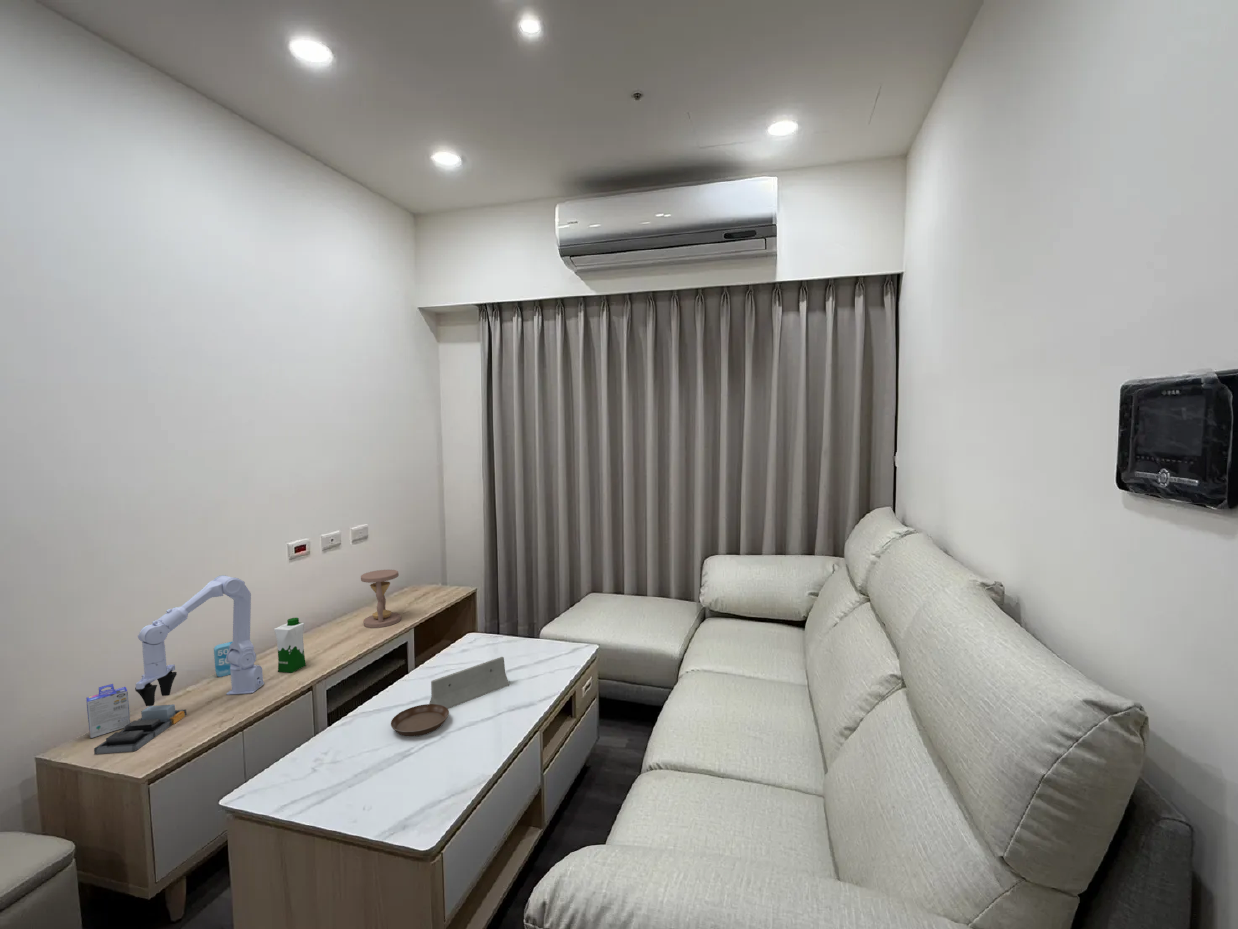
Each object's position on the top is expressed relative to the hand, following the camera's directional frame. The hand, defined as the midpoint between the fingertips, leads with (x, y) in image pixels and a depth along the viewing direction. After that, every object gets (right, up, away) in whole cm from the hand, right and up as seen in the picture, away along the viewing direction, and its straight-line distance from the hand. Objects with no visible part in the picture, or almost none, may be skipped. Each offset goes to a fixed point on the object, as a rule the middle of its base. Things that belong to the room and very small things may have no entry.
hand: (158, 700), depth 183 cm
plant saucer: (+91, -5, -7) cm, 91 cm away
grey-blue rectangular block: (0, -8, 0) cm, 8 cm away
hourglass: (+34, -1, +94) cm, 100 cm away
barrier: (+102, -4, +12) cm, 103 cm away
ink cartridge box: (-13, -8, -4) cm, 16 cm away
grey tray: (+1, -8, -7) cm, 10 cm away
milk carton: (+21, -5, +40) cm, 45 cm away
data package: (-2, -6, +39) cm, 40 cm away
